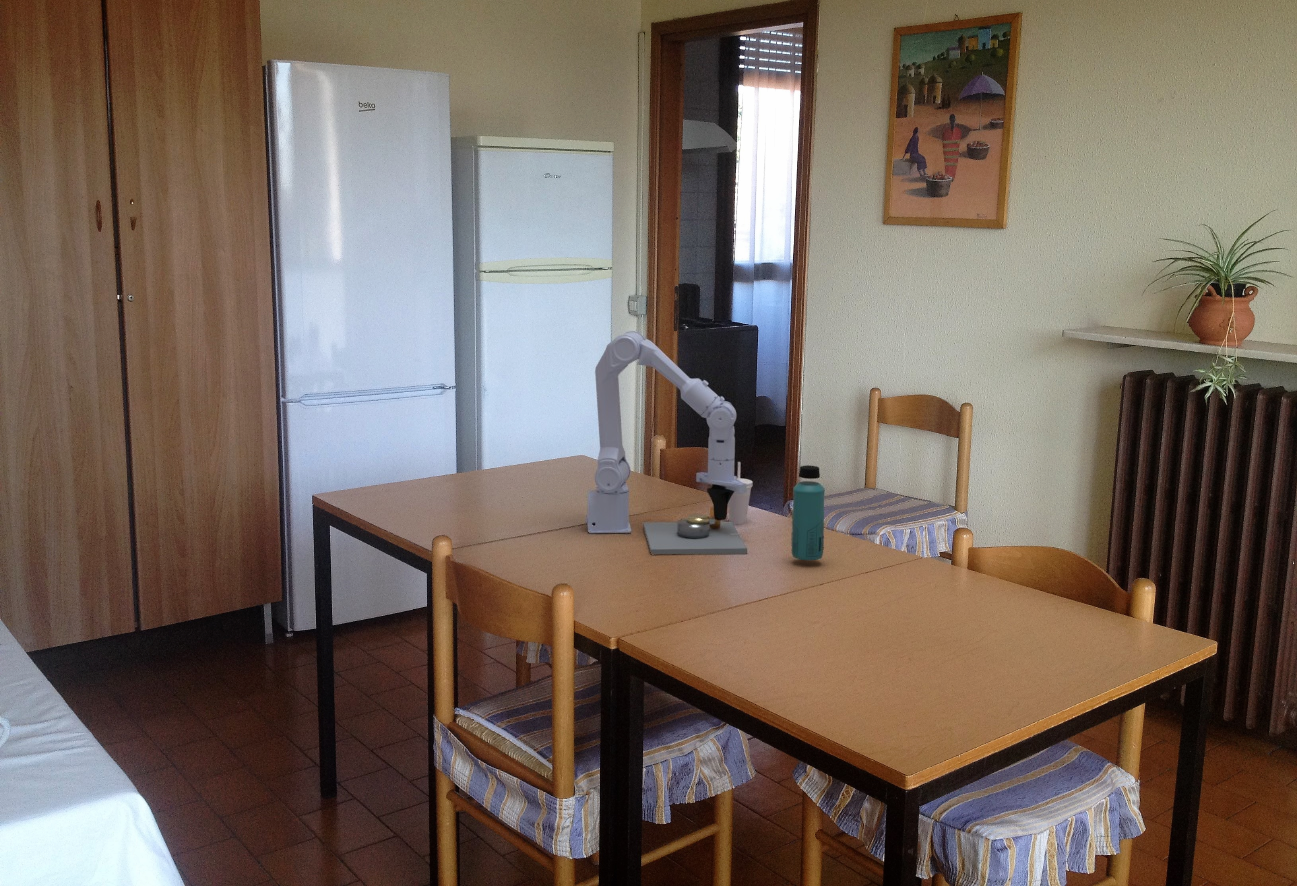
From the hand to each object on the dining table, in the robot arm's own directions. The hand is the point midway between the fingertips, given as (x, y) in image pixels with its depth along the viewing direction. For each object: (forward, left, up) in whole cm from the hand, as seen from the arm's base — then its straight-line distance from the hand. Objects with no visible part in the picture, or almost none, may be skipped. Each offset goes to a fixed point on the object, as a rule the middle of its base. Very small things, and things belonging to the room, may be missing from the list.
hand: (720, 519), depth 254 cm
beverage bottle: (+15, -22, -4) cm, 27 cm away
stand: (-6, -4, -4) cm, 8 cm away
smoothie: (+6, +11, -4) cm, 13 cm away
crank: (-4, -2, -2) cm, 5 cm away
